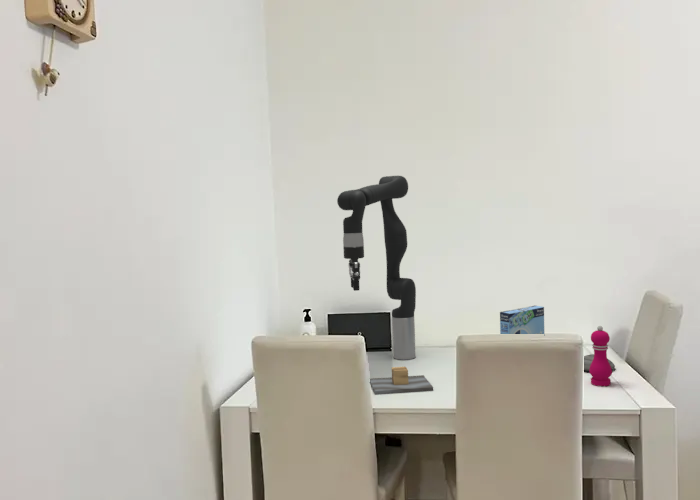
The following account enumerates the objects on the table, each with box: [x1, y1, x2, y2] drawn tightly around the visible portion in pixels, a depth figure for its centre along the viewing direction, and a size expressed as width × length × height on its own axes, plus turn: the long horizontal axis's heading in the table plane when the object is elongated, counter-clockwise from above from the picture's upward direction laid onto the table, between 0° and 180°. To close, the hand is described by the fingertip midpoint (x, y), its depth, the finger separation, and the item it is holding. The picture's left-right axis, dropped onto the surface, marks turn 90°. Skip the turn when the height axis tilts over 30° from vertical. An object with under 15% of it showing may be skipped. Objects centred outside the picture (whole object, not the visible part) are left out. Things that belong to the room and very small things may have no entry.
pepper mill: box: [588, 325, 613, 387], centre depth 223 cm, size 7×7×20 cm
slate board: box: [369, 374, 434, 395], centre depth 230 cm, size 16×20×1 cm
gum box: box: [499, 305, 545, 335], centre depth 246 cm, size 19×5×23 cm, turn 123°
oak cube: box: [391, 366, 409, 385], centre depth 230 cm, size 5×5×5 cm
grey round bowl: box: [583, 353, 616, 372], centre depth 244 cm, size 15×15×6 cm
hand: (355, 288), depth 243 cm, fingers open, 8 cm apart
